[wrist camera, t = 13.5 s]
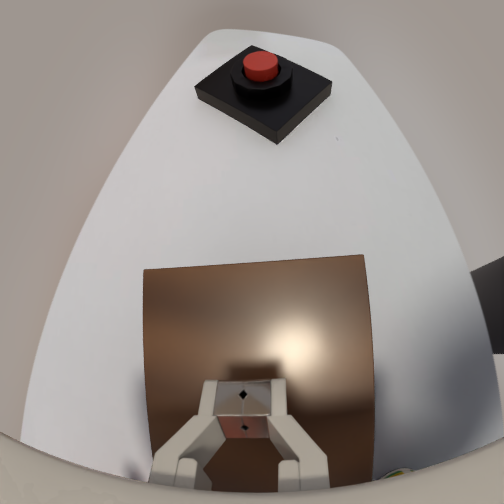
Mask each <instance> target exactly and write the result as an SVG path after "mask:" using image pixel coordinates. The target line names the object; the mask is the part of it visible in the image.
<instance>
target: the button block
mask: <svg viewBox="0 0 504 504" xmlns="http://www.w3.org/2000/svg"><path fill="white" fill-rule="evenodd" d="M257 51H265V50H263V49H260V48H258V47H255V46H253V45H251V46H250V47H248V48H247V49H245V50H244V51H242V52H241V53H239V54H238V55H236V56H235V57H233V58H232V59H230V60H229V61H228V62H226V63H225V64H223V65H222V66H221V67H219V68H218V69H216V70H215V71H214V72H212V73H211V74H210V75H208V76H207V77H206V78H204V79H203V80H202V81H201V82H199V83H198V84H197V85H195V86H194V87H195V90H196V93H197V96H198V98H199V99H200V100H202V101H204V102H206V103H208V104H210V105H211V106H213V107H215V108H217V109H219V110H220V111H222V112H224V113H226V114H227V115H229V116H231V117H233V118H234V119H236V120H238V121H240V122H241V123H243V124H245V125H246V126H248V127H250V128H251V129H253V130H255V131H256V132H258V133H260V134H261V135H263V136H265V137H266V138H268V139H269V140H271V141H273V142H274V143H276V144H278V143H279V142H280V141H281V140H282V139H283V138H284V137H285V136H287V135H288V134H289V133H290V132H291V131H292V130H293V129H294V128H295V127H296V126H297V125H298V124H299V123H300V122H301V121H302V120H303V119H304V118H305V117H307V116H308V115H309V114H310V113H311V112H312V111H313V110H314V109H315V108H316V107H317V106H318V105H319V104H321V103H322V102H323V101H324V100H325V99H326V98H327V97H328V96H329V95H330V94H331V87H332V81H330V80H328V79H326V78H324V77H322V76H321V75H319V74H317V73H315V72H312V71H310V70H308V69H306V68H304V67H302V66H300V65H298V64H296V63H293V62H291V61H289V60H287V59H286V58H283V57H281V56H279V55H276V54H274V55H275V56H276V57H277V59H278V74H277V76H276V77H275V78H273V79H272V80H268V81H264V82H258V81H252V80H250V79H248V78H247V77H246V75H245V71H244V65H243V60H244V58H245V57H246V56H247V55H249V54H250V53H253V52H257ZM266 52H268V51H266Z"/></svg>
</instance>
